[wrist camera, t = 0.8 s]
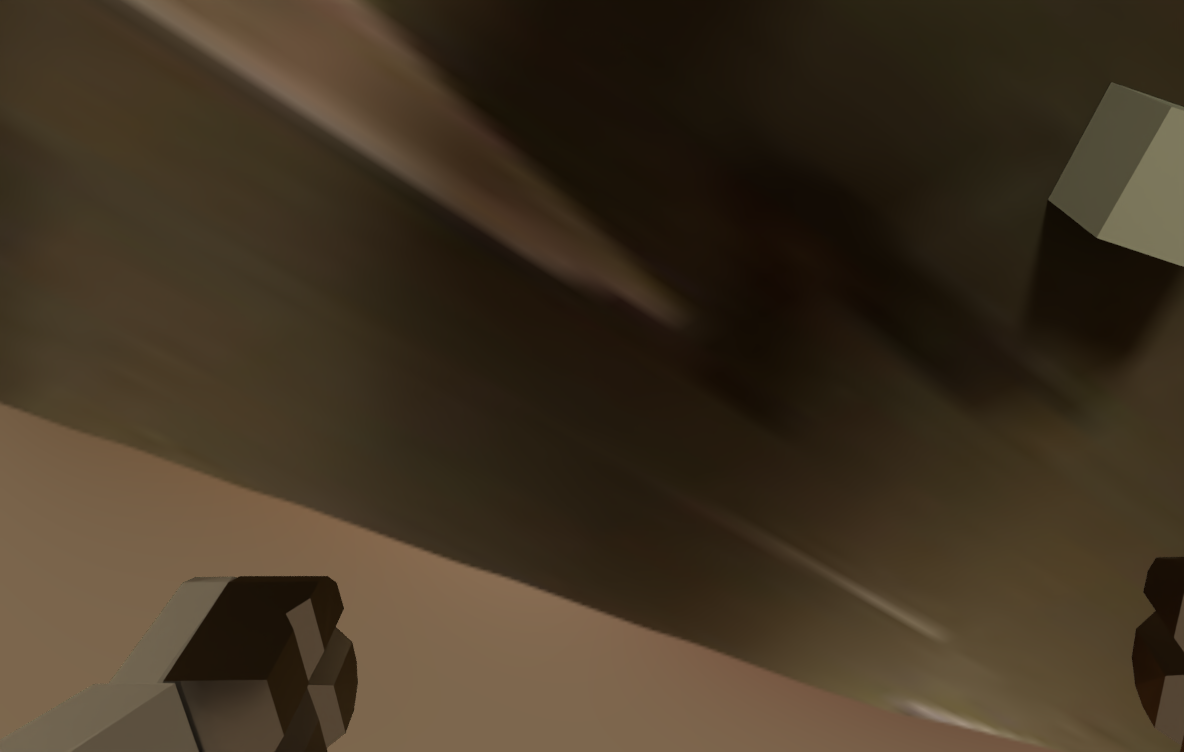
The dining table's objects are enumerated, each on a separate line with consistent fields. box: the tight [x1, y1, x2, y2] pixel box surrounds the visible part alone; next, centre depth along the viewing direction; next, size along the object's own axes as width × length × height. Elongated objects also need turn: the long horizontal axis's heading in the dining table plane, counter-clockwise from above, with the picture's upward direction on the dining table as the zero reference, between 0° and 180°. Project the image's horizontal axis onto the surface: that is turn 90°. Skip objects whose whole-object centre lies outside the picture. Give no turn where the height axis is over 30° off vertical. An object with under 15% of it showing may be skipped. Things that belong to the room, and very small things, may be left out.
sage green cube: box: [1048, 82, 1184, 267], centre depth 43 cm, size 6×6×6 cm
